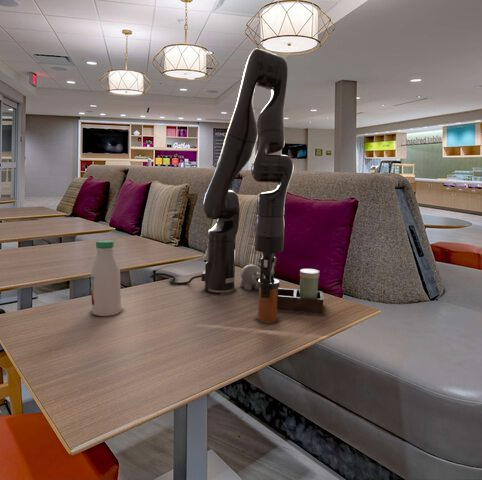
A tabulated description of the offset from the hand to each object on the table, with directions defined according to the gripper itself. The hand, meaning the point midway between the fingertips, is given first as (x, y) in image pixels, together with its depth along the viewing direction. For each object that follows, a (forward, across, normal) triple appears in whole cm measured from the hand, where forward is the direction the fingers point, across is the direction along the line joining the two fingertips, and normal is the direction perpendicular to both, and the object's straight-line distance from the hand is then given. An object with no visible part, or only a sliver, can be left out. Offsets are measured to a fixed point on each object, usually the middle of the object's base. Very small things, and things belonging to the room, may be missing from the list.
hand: (267, 292), depth 111 cm
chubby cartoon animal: (+8, -26, -7) cm, 28 cm away
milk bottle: (+8, +5, -44) cm, 45 cm away
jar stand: (+8, -12, +7) cm, 16 cm away
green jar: (+7, -12, +11) cm, 18 cm away
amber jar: (+8, 0, 0) cm, 8 cm away
